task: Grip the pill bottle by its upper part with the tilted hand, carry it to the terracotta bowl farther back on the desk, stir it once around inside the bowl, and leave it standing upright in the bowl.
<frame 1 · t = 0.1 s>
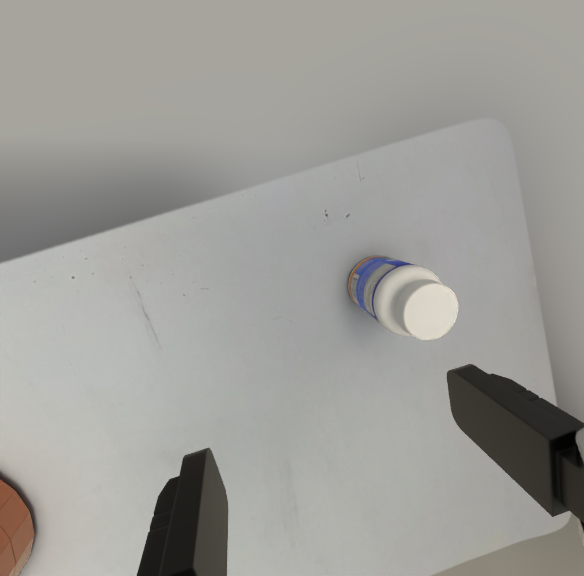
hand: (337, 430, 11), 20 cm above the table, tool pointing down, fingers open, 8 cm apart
pill bottle: (372, 282, 31), on the table
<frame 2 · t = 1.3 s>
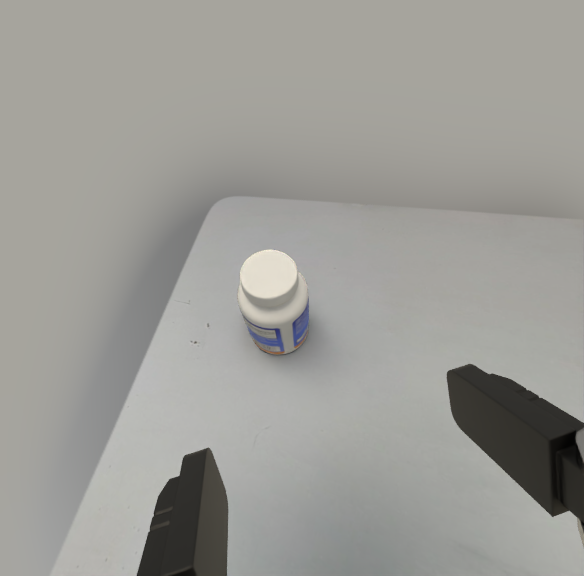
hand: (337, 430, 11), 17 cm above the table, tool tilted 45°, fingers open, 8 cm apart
pill bottle: (279, 329, 31), on the table
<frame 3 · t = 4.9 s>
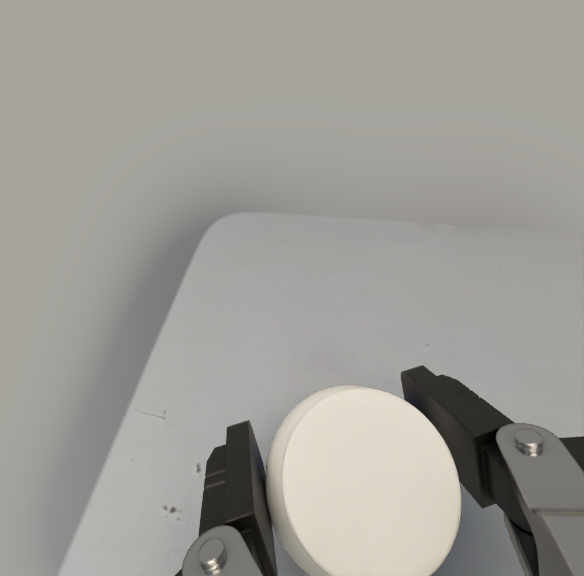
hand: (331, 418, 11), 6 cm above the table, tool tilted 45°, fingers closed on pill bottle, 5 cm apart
pill bottle: (337, 479, 16), on the table, touching gripper
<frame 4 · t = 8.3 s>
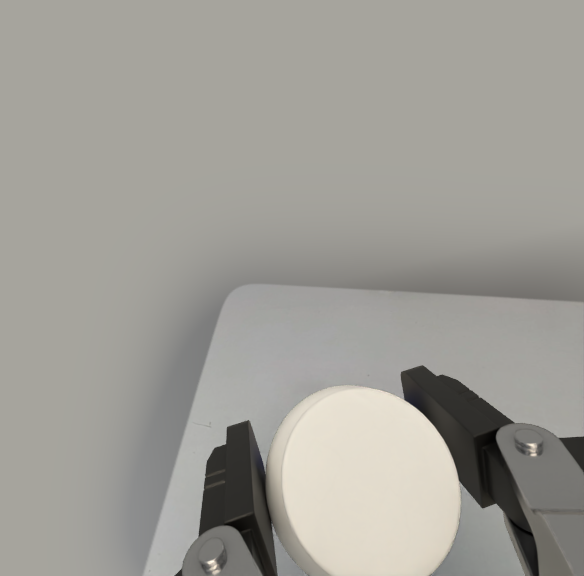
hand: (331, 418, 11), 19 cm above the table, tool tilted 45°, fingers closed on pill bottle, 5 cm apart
pill bottle: (337, 479, 16), point 13 cm above the table, touching gripper
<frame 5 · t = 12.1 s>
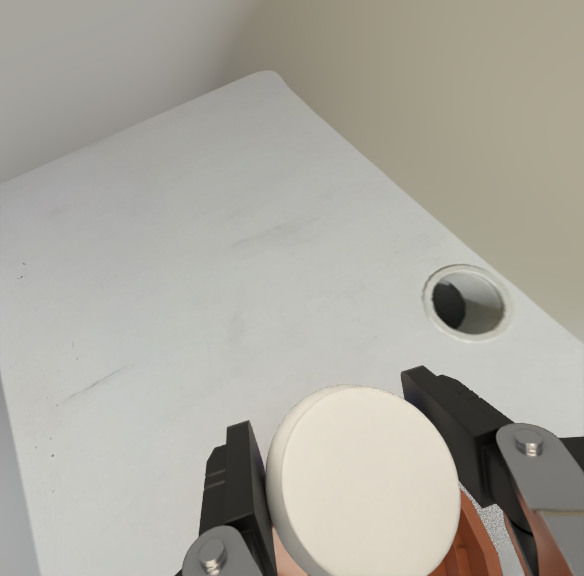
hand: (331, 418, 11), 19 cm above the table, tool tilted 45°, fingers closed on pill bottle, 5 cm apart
bowl: (353, 555, 24), on the table
pill bottle: (337, 478, 16), point 13 cm above the table, touching gripper
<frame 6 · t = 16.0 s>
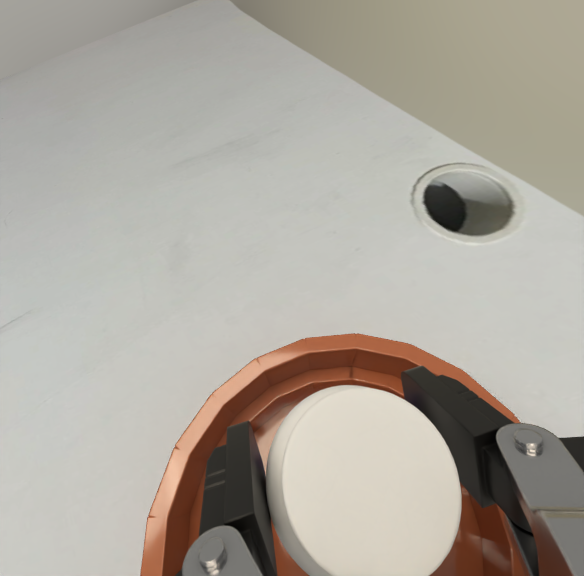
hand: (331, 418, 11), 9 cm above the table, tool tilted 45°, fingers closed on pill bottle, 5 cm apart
bowl: (345, 522, 17), on the table
pill bottle: (337, 479, 16), point 2 cm above the table, touching gripper
when the fingers open (7 cm above the table, at t = 19.4 s): pill bottle stays where it is, resting on bowl.
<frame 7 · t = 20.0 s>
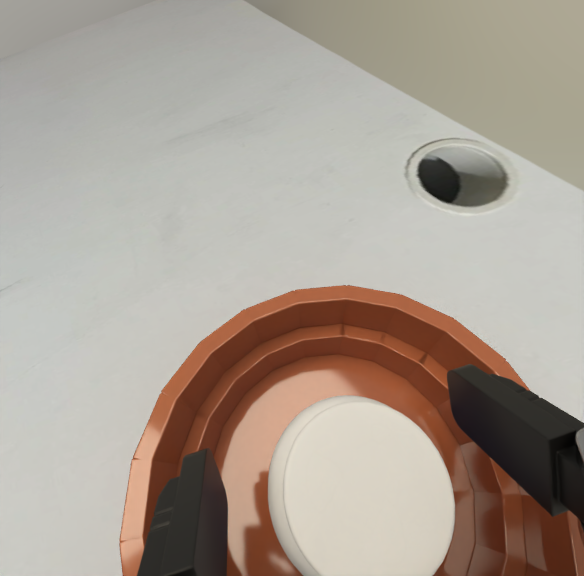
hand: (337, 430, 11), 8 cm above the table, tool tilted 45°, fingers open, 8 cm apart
bowl: (336, 480, 17), on the table
pill bottle: (338, 484, 16), resting on bowl
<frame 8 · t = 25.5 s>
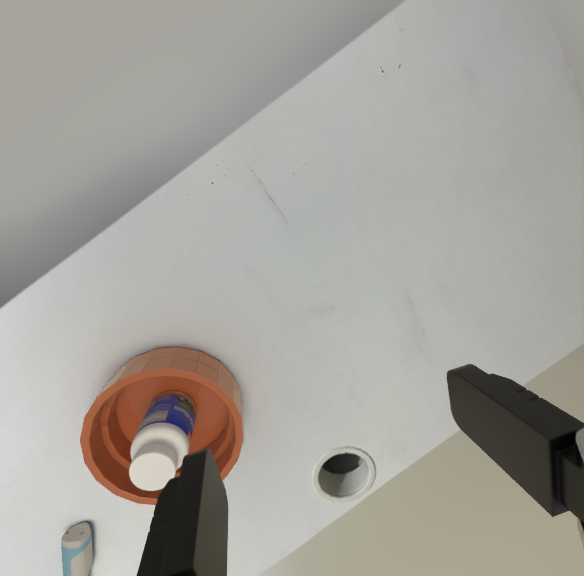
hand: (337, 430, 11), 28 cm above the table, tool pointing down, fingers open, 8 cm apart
bowl: (175, 406, 39), on the table
pill bottle: (173, 409, 39), resting on bowl
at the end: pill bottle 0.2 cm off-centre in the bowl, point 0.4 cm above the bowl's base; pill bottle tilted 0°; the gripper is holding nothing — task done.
